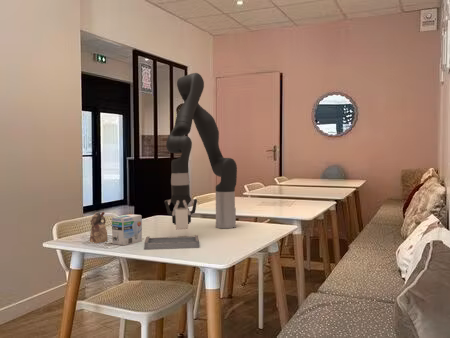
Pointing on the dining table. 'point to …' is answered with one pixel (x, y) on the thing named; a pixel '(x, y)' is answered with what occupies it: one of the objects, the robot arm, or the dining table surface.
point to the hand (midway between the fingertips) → (181, 223)
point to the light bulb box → (126, 229)
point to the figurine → (98, 228)
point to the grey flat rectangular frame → (171, 242)
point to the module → (181, 218)
